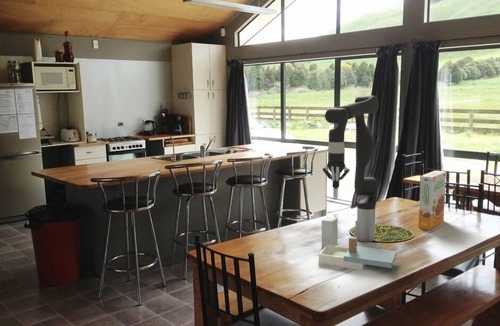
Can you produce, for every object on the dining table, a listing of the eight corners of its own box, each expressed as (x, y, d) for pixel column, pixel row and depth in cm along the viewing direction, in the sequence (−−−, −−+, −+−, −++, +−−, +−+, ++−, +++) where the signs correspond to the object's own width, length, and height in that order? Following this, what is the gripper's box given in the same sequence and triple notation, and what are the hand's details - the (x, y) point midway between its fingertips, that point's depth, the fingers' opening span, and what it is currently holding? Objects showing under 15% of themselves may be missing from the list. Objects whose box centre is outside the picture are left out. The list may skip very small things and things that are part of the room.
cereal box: (429, 229, 254) (432, 177, 249) (418, 227, 258) (420, 176, 254) (443, 220, 271) (446, 171, 266) (432, 219, 275) (435, 170, 270)
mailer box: (318, 263, 207) (318, 254, 207) (327, 253, 220) (327, 244, 219) (362, 270, 199) (362, 260, 198) (368, 259, 211) (369, 250, 211)
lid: (343, 260, 201) (343, 242, 200) (351, 249, 215) (352, 232, 214) (391, 267, 192) (392, 248, 191) (396, 255, 206) (397, 237, 205)
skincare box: (332, 250, 224) (332, 221, 221) (320, 248, 227) (321, 220, 224) (337, 245, 231) (338, 217, 228) (326, 243, 234) (326, 216, 231)
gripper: (352, 151, 210) (351, 187, 212) (324, 149, 215) (324, 185, 218) (348, 153, 203) (347, 191, 206) (320, 151, 209) (319, 188, 211)
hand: (335, 188), depth 212 cm, fingers closed
